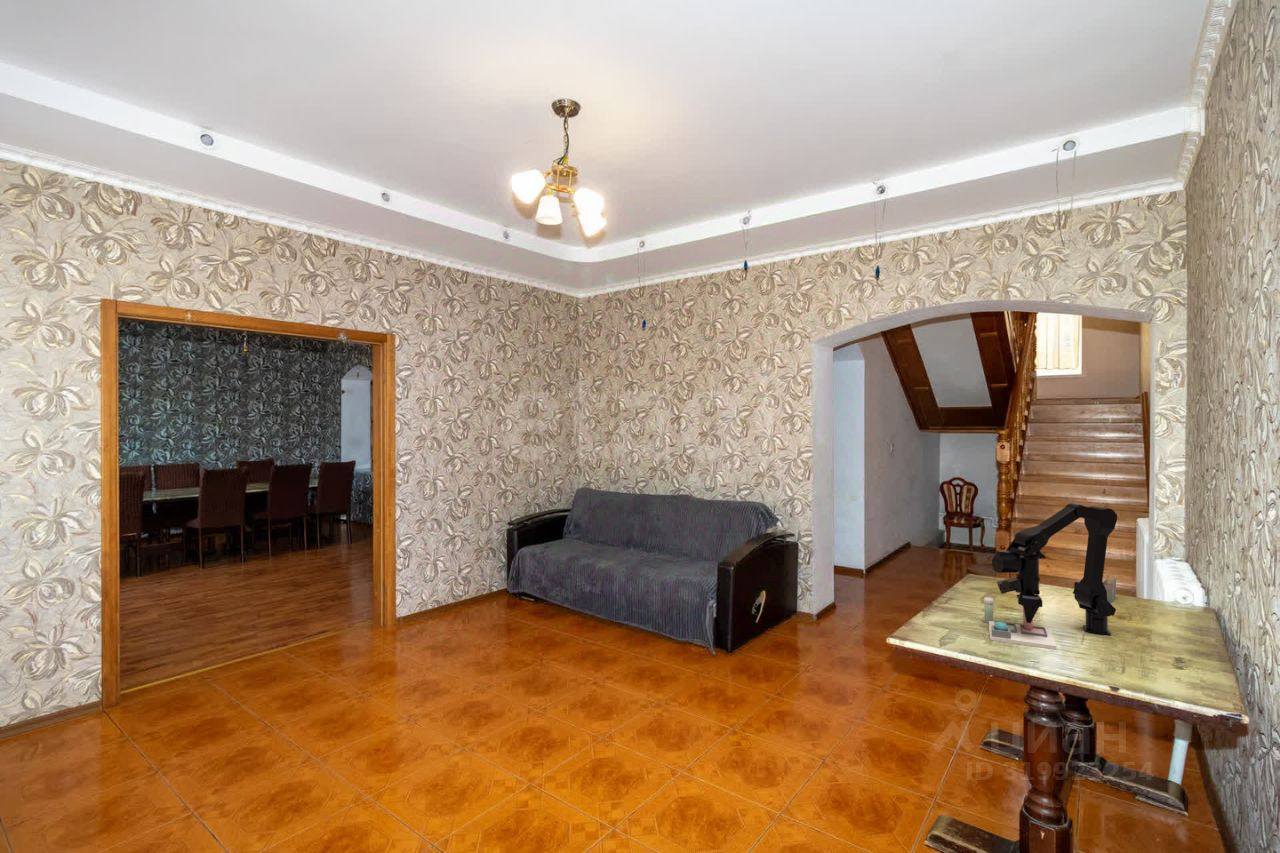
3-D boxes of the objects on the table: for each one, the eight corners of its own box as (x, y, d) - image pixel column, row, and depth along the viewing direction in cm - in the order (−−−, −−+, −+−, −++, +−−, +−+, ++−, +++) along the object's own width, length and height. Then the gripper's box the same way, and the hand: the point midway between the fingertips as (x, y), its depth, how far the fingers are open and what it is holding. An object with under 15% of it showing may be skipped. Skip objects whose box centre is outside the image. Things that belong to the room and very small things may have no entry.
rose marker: (1032, 627, 196) (1032, 602, 196) (1033, 630, 194) (1033, 604, 194) (1022, 626, 197) (1022, 601, 197) (1023, 628, 195) (1023, 603, 195)
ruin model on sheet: (1106, 597, 237) (1106, 571, 237) (1116, 598, 235) (1116, 573, 235) (1100, 603, 229) (1100, 576, 229) (1110, 604, 227) (1110, 578, 227)
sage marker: (984, 620, 208) (984, 596, 208) (993, 621, 206) (993, 597, 206) (984, 622, 205) (984, 598, 205) (993, 624, 204) (993, 599, 204)
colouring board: (988, 624, 204) (988, 614, 204) (1050, 632, 196) (1050, 622, 196) (989, 639, 189) (989, 630, 189) (1056, 649, 181) (1056, 639, 181)
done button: (995, 628, 192) (995, 621, 192) (1006, 630, 191) (1006, 622, 191) (995, 631, 190) (995, 623, 190) (1006, 633, 188) (1006, 625, 188)
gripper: (998, 563, 207) (998, 609, 208) (999, 575, 191) (999, 626, 191) (1037, 567, 202) (1037, 614, 202) (1042, 579, 186) (1042, 631, 186)
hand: (1028, 621), depth 195 cm, fingers closed on rose marker, 3 cm apart
